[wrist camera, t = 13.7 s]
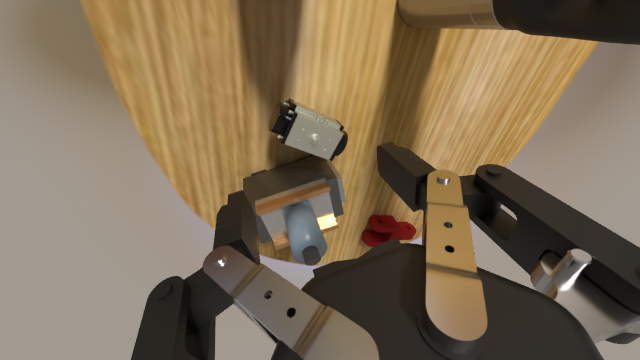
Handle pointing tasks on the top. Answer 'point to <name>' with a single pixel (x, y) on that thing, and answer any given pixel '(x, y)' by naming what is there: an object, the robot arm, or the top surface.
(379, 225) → the mechanical linkage
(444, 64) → the top surface
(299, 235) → the blue-gray bottle
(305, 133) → the pneumatic valve
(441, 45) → the top surface
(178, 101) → the top surface
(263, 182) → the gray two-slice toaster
